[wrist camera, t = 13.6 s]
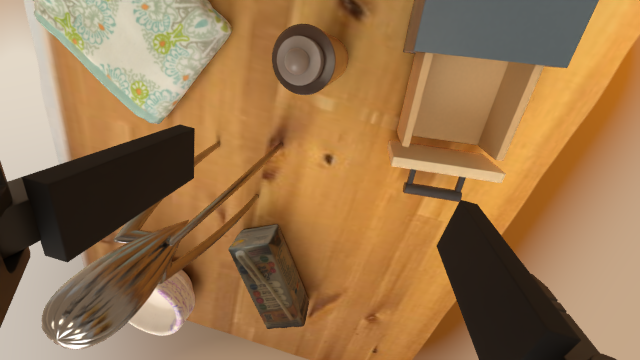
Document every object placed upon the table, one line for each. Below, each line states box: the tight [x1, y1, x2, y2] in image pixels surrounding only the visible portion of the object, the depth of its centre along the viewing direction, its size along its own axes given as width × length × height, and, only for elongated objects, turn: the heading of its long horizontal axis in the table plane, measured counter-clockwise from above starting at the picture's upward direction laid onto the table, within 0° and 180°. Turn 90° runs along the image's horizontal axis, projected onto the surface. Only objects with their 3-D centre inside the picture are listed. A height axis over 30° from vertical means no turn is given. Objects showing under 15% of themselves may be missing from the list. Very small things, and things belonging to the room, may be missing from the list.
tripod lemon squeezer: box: [42, 143, 283, 349], centre depth 29 cm, size 10×11×30 cm
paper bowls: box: [128, 270, 195, 335], centre depth 54 cm, size 15×15×8 cm
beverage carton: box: [229, 224, 309, 329], centre depth 48 cm, size 8×19×7 cm, turn 16°
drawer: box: [388, 52, 544, 202], centre depth 31 cm, size 20×12×7 cm, turn 174°
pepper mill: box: [272, 24, 348, 95], centre depth 27 cm, size 5×5×18 cm
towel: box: [33, 0, 232, 124], centre depth 34 cm, size 18×21×5 cm
